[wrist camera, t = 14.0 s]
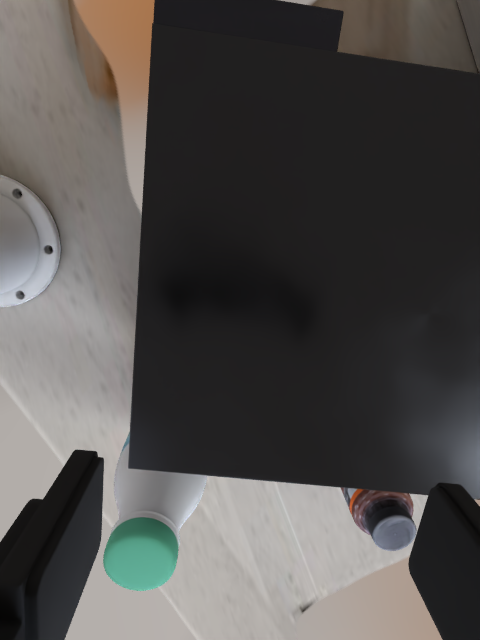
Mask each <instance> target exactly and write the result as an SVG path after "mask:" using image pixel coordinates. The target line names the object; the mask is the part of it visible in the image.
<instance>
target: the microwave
mask: <svg viewBox="0 0 480 640" xmlns="http://www.w3.org/2000/svg"><path fill="white" fill-rule="evenodd" d="M342 19H343V11H340V10H334V9H328V8H322V7H316V6H309V5H303V4H297V3H291V2H285V1H278V0H155V4H154V22H153V24H152V40H151V57H150V76H149V94H148V112H147V131H146V149H145V150H146V151H145V169H144V185H143V186H144V187H143V203H142V222H141V240H140V258H139V277H138V295H137V313H136V331H135V350H134V368H133V386H132V404H131V423H130V441H129V459H128V468H129V469H139V470H150V471H162V472H173V473H184V474H196V475H207V476H218V477H229V478H241V479H252V480H263V481H275V482H286V483H297V484H308V485H320V486H331V487H342V488H354V489H365V490H376V491H388V492H399V493H410V494H421V495H429V492H430V490H431V488H433V487H435V486H436V485H437V484H438V483H451V484H459V485H461V486H463V487H464V488H465V490H466V491H467V492H468V493H469V494H470V496H471V497H472V498H473V499H478V500H480V74H476V73H470V72H464V71H457V70H451V69H444V68H438V67H432V66H425V65H419V64H412V63H406V62H400V61H393V60H387V59H380V58H374V57H367V56H361V55H355V54H348V53H342V52H337V49H338V43H339V37H340V31H341V25H342Z"/></svg>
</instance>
